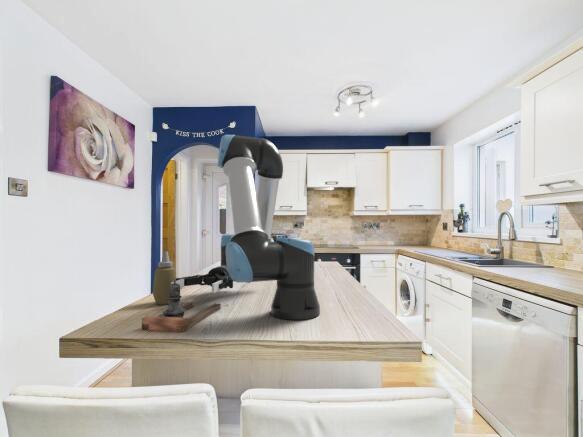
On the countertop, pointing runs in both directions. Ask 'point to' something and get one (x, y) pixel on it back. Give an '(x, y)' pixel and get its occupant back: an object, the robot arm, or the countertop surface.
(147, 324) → the track
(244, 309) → the countertop surface
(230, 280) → the robot arm
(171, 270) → the squeeze bottle
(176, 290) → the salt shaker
